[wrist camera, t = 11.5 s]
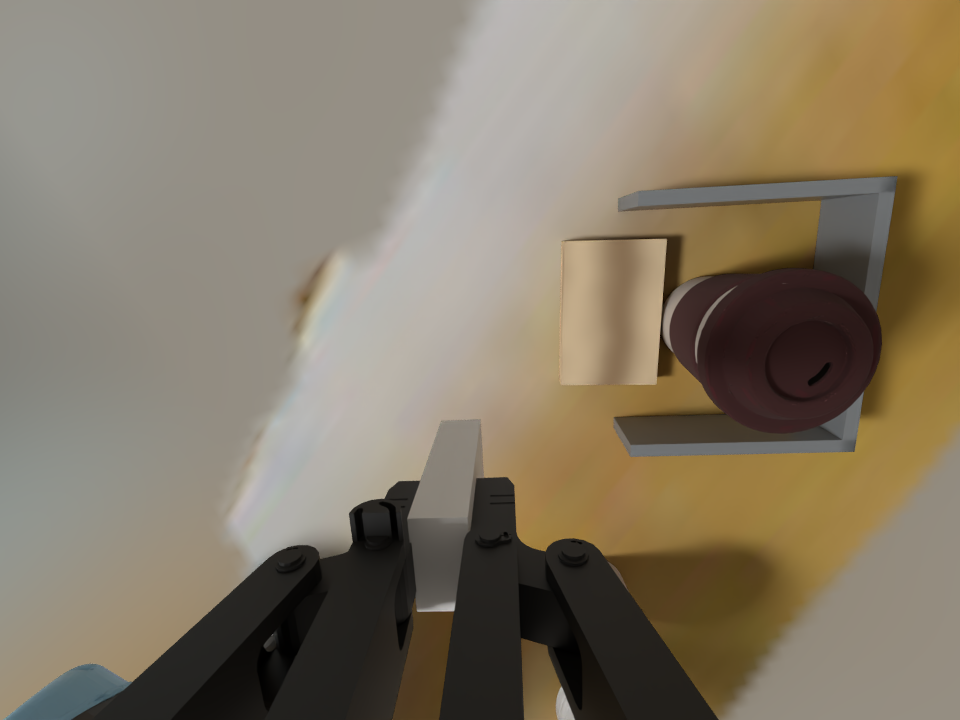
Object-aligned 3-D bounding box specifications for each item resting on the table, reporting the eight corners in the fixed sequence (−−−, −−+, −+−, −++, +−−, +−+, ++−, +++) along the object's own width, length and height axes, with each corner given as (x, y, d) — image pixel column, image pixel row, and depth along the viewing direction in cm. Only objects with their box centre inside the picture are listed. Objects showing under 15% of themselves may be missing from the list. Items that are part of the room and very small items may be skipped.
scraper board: (558, 377, 43) (561, 385, 40) (560, 241, 40) (564, 241, 37) (647, 376, 42) (656, 384, 40) (657, 238, 39) (666, 238, 37)
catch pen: (613, 427, 43) (630, 456, 37) (618, 198, 38) (638, 191, 32) (806, 422, 42) (854, 451, 36) (836, 186, 37) (897, 176, 31)
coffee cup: (629, 281, 40) (700, 305, 25) (748, 243, 39) (893, 244, 24) (657, 387, 42) (737, 465, 28) (770, 354, 41) (917, 417, 26)
